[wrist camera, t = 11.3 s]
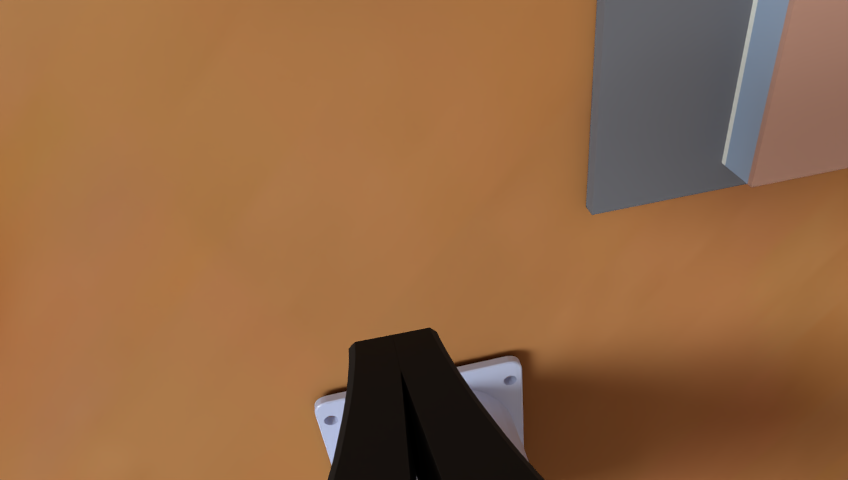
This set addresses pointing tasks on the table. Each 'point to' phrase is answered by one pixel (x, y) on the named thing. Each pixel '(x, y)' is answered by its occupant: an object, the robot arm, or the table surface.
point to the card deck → (791, 93)
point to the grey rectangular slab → (662, 99)
